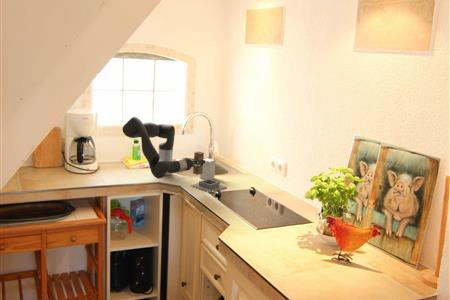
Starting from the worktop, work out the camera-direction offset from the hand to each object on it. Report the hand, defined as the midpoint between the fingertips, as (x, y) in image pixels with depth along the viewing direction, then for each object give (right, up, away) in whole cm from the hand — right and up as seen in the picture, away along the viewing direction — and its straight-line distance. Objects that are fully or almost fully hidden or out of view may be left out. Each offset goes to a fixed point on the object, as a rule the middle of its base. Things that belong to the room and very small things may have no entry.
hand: (201, 160), depth 283 cm
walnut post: (-2, -8, 0) cm, 8 cm away
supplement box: (+2, -12, +30) cm, 32 cm away
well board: (+4, -17, +11) cm, 20 cm away
